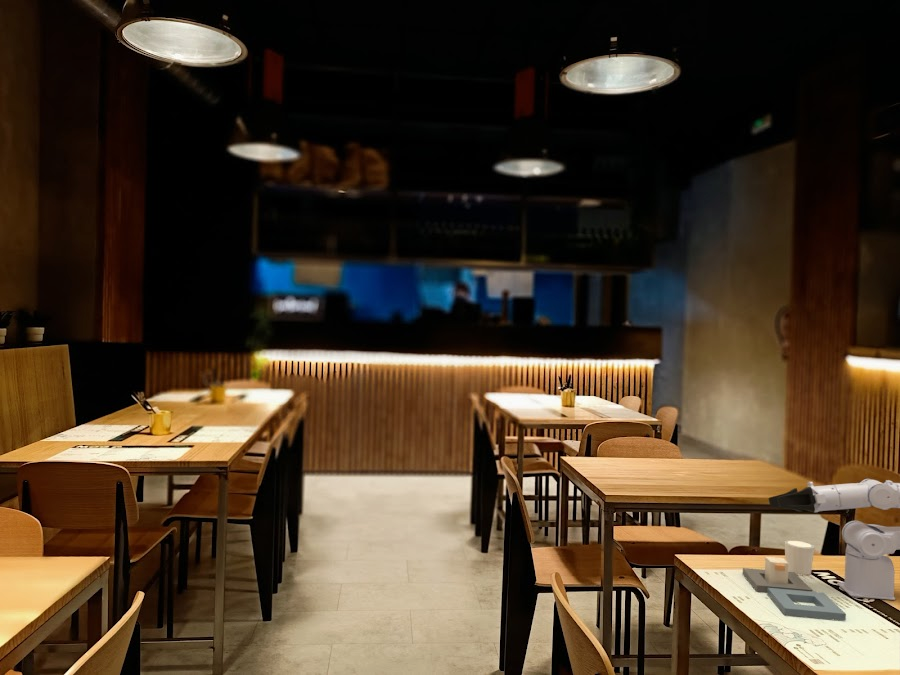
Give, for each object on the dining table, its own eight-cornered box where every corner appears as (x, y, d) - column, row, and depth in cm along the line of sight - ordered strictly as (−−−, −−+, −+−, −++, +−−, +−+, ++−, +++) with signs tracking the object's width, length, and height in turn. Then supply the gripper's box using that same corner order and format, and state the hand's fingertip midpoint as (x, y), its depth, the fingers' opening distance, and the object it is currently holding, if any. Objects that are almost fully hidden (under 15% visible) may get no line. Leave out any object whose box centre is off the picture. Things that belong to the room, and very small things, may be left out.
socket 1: (794, 578, 167) (794, 572, 167) (812, 596, 155) (812, 590, 155) (742, 573, 169) (742, 567, 169) (756, 591, 157) (756, 585, 157)
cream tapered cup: (806, 567, 175) (807, 540, 175) (818, 577, 169) (819, 548, 168) (779, 565, 176) (780, 538, 176) (789, 575, 169) (790, 547, 169)
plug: (782, 582, 163) (782, 558, 163) (788, 590, 159) (789, 564, 159) (764, 581, 164) (765, 556, 164) (770, 588, 159) (771, 563, 159)
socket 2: (823, 599, 154) (823, 592, 154) (845, 621, 142) (845, 613, 142) (767, 594, 156) (767, 587, 156) (784, 615, 144) (784, 608, 144)
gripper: (820, 481, 168) (762, 486, 170) (842, 478, 154) (779, 484, 156) (826, 510, 166) (768, 515, 168) (849, 510, 152) (785, 515, 154)
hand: (773, 502), depth 162 cm, fingers open, 7 cm apart
